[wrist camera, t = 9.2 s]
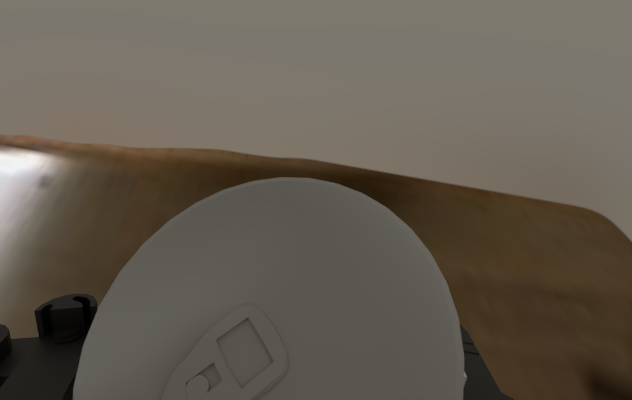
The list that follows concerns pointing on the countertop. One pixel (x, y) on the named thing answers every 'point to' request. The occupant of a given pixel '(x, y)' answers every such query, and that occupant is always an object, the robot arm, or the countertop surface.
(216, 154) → the countertop surface
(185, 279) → the canned food
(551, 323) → the countertop surface
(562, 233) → the countertop surface
